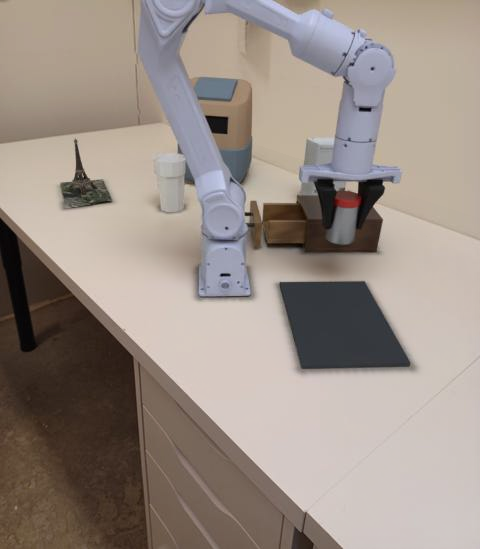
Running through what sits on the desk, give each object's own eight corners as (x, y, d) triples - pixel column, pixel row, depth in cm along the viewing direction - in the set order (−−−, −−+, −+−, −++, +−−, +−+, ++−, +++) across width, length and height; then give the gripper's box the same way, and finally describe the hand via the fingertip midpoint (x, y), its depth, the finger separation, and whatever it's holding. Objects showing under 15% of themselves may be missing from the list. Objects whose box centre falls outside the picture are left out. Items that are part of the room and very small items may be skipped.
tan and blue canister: (174, 185, 115) (170, 83, 103) (192, 164, 129) (190, 72, 117) (242, 191, 112) (246, 88, 101) (253, 170, 127) (257, 77, 115)
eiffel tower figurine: (113, 203, 104) (107, 141, 97) (65, 208, 100) (54, 145, 94) (102, 180, 116) (96, 125, 109) (59, 185, 112) (49, 127, 105)
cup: (152, 212, 100) (149, 161, 95) (161, 200, 106) (158, 152, 100) (183, 215, 100) (181, 163, 94) (190, 203, 105) (189, 154, 100)
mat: (409, 366, 61) (410, 362, 60) (301, 368, 60) (302, 365, 59) (363, 284, 78) (364, 281, 77) (279, 284, 77) (279, 281, 76)
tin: (358, 244, 72) (365, 201, 68) (329, 245, 71) (335, 201, 68) (349, 232, 76) (356, 190, 72) (322, 232, 75) (327, 190, 72)
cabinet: (304, 252, 87) (308, 219, 83) (293, 225, 97) (296, 195, 93) (376, 252, 88) (383, 219, 84) (358, 225, 98) (364, 195, 94)
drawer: (231, 246, 86) (232, 222, 83) (228, 222, 95) (229, 200, 92) (321, 246, 87) (325, 222, 85) (310, 222, 96) (313, 200, 94)
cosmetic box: (309, 213, 102) (317, 144, 95) (297, 203, 107) (304, 137, 100) (343, 210, 105) (354, 142, 97) (331, 200, 110) (340, 135, 102)
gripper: (396, 130, 70) (379, 216, 77) (298, 129, 68) (290, 216, 75) (415, 143, 64) (394, 235, 70) (308, 142, 62) (298, 235, 69)
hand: (341, 226), depth 72 cm, fingers closed on tin, 4 cm apart
